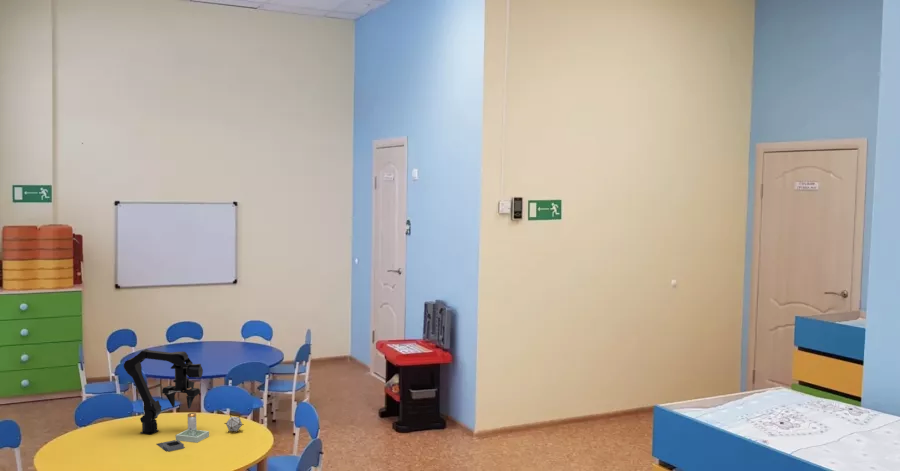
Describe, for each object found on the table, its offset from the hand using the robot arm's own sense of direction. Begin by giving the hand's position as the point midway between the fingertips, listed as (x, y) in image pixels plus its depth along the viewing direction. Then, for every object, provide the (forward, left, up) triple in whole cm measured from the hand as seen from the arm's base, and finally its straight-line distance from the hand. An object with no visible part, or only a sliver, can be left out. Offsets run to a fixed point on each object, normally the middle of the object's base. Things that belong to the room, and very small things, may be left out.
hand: (181, 407), depth 384 cm
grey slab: (+9, -21, -13) cm, 26 cm away
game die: (+24, +10, -13) cm, 29 cm away
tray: (+12, -8, -13) cm, 19 cm away
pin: (+12, -8, -12) cm, 19 cm away
